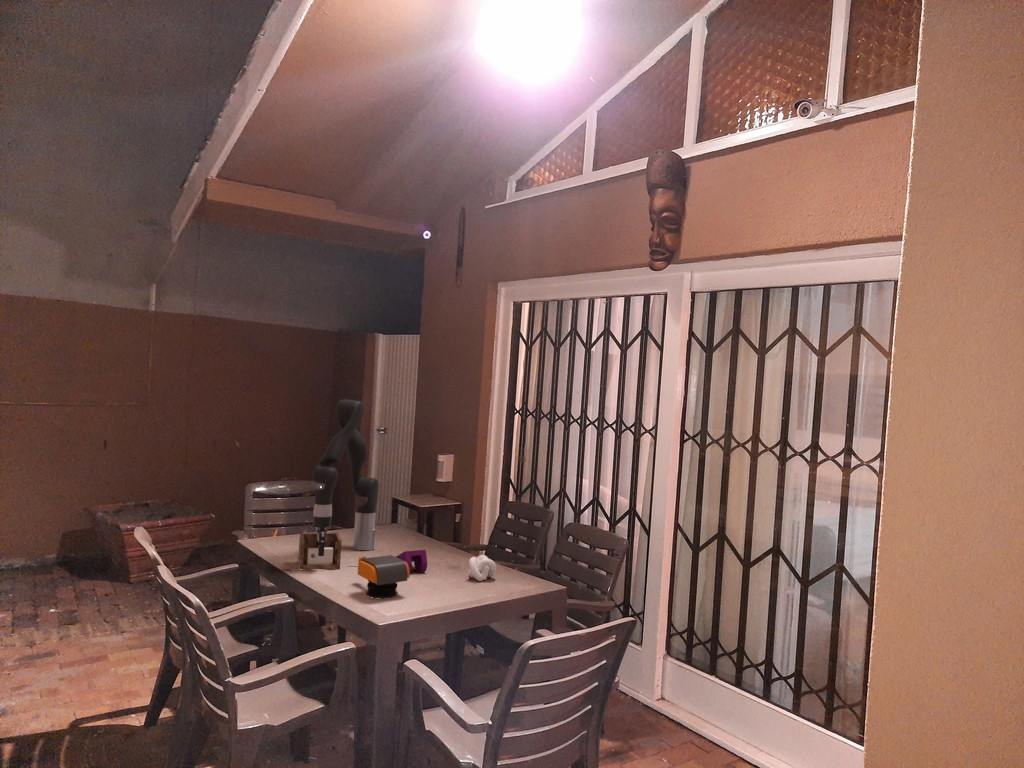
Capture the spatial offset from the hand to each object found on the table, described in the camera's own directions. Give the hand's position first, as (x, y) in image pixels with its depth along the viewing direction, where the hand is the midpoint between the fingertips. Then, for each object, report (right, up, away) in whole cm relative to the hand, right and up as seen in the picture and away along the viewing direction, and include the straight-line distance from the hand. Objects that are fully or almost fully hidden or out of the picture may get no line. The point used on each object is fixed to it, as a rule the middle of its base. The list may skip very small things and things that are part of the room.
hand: (320, 553), depth 287 cm
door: (0, -6, 0) cm, 6 cm away
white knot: (+66, -10, -2) cm, 67 cm away
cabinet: (-2, -6, +3) cm, 7 cm away
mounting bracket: (+35, -9, +6) cm, 37 cm away
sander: (+28, -8, -26) cm, 39 cm away
